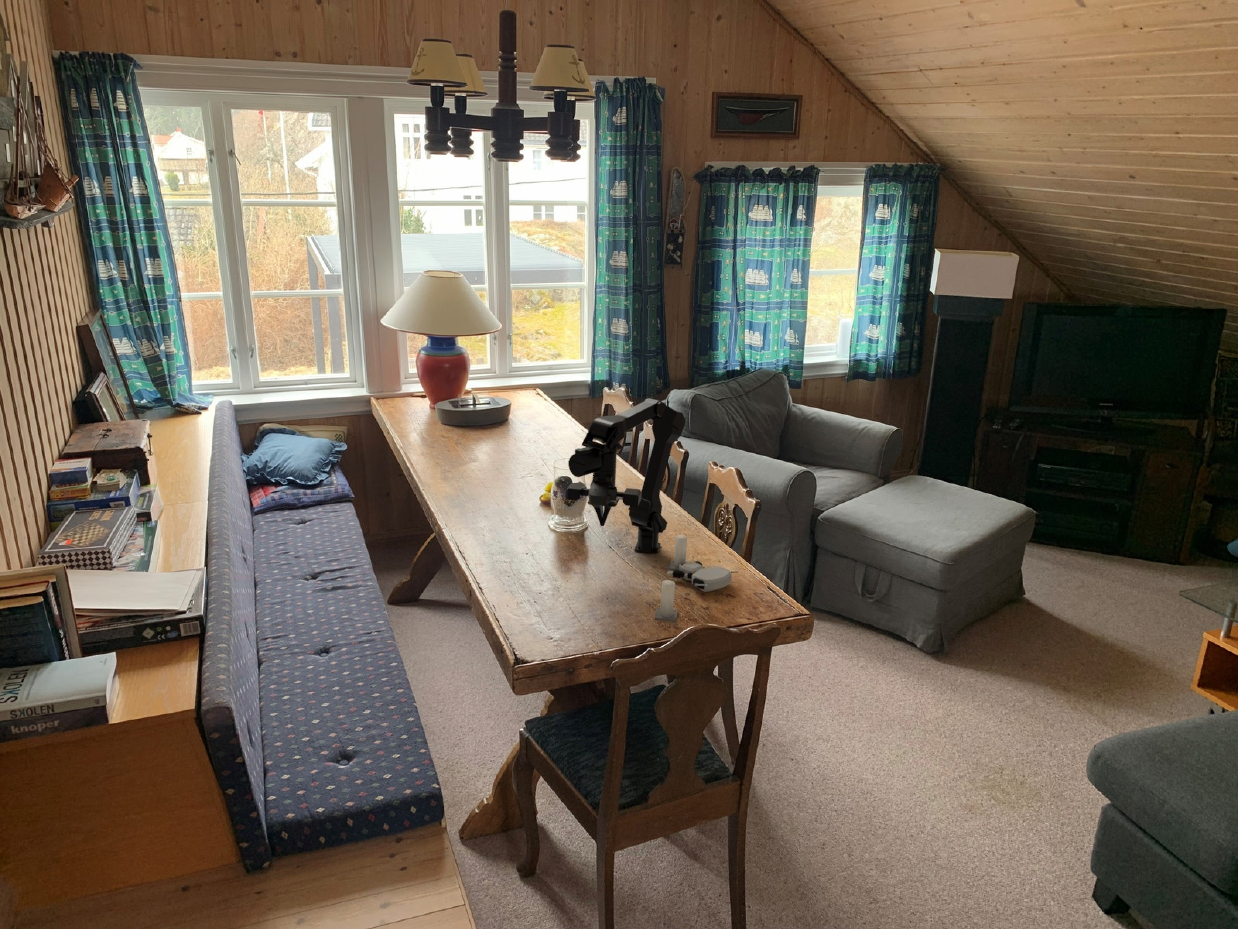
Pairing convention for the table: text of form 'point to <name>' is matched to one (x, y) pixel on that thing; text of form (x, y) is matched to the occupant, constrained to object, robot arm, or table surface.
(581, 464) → the robot arm
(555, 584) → the table surface
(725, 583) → the robot toy
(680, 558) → the pair of white pegs
